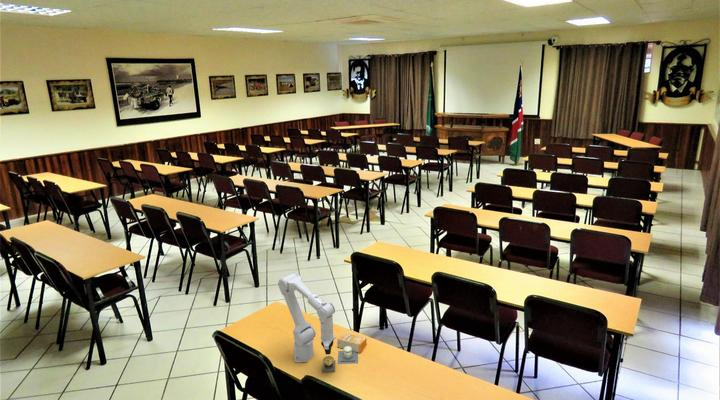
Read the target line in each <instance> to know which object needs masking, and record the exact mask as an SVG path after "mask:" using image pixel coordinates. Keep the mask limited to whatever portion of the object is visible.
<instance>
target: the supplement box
mask: <svg viewBox="0 0 720 400" xmlns="http://www.w3.org/2000/svg"><path fill="white" fill-rule="evenodd" d="M336 343H337V344H336V346H337V348H339V349H343V350H344V347H346V346H350V347H351V348H352V351H355V352H358V354H359V353H362V351H363V350H364V349H365V348H366V346H367V337H363V336H359V335H355V334H351V333H347V332H343V334H341V335H340V336H339V337H338V338H337V342H336Z"/></svg>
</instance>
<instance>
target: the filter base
mask: <svg viewBox="0 0 720 400" xmlns="http://www.w3.org/2000/svg"><path fill="white" fill-rule="evenodd" d="M337 352H338V353H337V364H338V365H349V364H359V353H358V352H355V351H352V358H351V359H349V360H346V359H345V358H344V350H338V351H337Z"/></svg>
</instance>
